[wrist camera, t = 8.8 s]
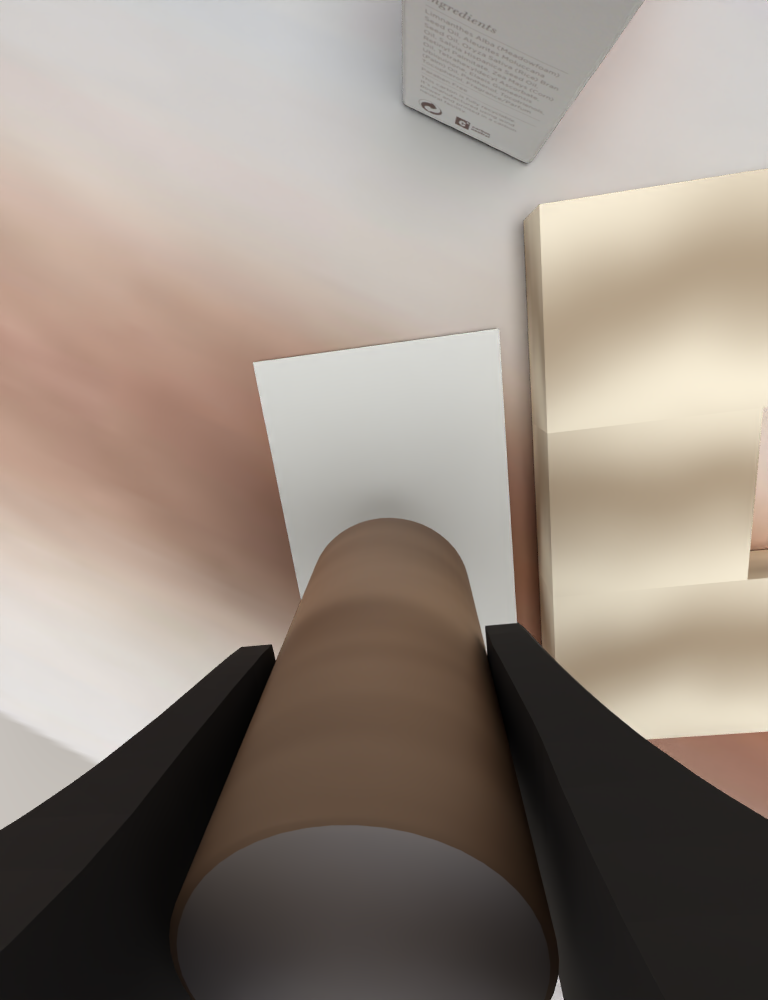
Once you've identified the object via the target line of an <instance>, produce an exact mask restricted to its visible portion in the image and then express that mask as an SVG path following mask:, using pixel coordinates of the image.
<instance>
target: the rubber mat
mask: <svg viewBox="0 0 768 1000" xmlns="http://www.w3.org/2000/svg"><path fill="white" fill-rule="evenodd" d="M253 365H254V370H255V375H256V380H257V385H258V390H259V395H260V400H261V405H262V410H263V415H264V420H265V425H266V430H267V434H268V439H269V444H270V449H271V454H272V459H273V464H274V469H275V474H276V479H277V484H278V489H279V494H280V499H281V503H282V508H283V513H284V518H285V523H286V528H287V533H288V538H289V543H290V548H291V553H292V558H293V563H294V568H295V572H296V577H297V582H298V587H299V592H300V597H301V599H302V597H303V594H304V592H305V590H306V587H307V585H308V582H309V580H310V578H311V575H312V573H313V570H314V568H315V565H316V563H317V561H318V559H319V557H320V555H321V553H322V552H323V550H324V549H325V548H326V546H327V545H328V544H329V543H330V542H331V541H332V540H333V539H334V538H335V537H336V536H337V535H339V534H340V533H341V532H343V531H344V530H346V529H348V528H349V527H351V526H354V525H356V524H358V523H361V522H364V521H367V520H372V519H378V518H400V519H406V520H411V521H414V522H417V523H420V524H423V525H425V526H427V527H429V528H431V529H433V530H434V531H436V532H437V533H439V534H440V535H441V536H443V537H444V538H445V539H446V540H447V541H448V542H449V543H450V544H451V545H452V546H453V547H454V548H455V550H456V551H457V553H458V554H459V556H460V557H461V559H462V561H463V563H464V565H465V568H466V571H467V574H468V578H469V582H470V586H471V590H472V595H473V599H474V603H475V607H476V611H477V615H478V619H479V623H480V627H481V632H482V636H483V640H484V644H485V648H486V652H487V645H486V633H485V626H488V625H499V624H510V623H517V616H516V600H515V583H514V566H513V550H512V533H511V517H510V500H509V483H508V467H507V450H506V434H505V417H504V401H503V384H502V367H501V351H500V334H499V329H491V330H484V331H477V332H470V333H462V334H455V335H448V336H441V337H433V338H426V339H419V340H412V341H404V342H397V343H390V344H383V345H375V346H368V347H361V348H354V349H346V350H339V351H332V352H325V353H317V354H310V355H303V356H296V357H288V358H281V359H274V360H267V361H259V362H253Z"/></svg>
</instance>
